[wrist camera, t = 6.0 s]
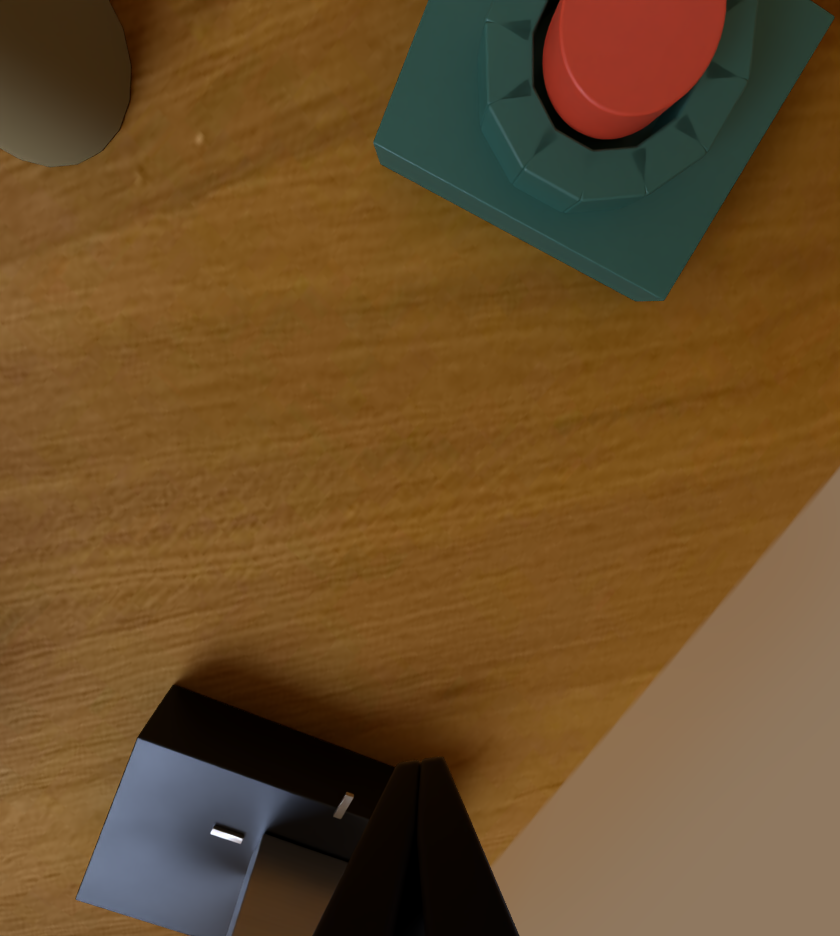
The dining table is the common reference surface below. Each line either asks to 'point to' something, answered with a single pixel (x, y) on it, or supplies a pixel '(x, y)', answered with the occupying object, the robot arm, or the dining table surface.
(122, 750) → the dining table surface
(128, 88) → the brown pawn
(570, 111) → the button
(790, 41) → the button block
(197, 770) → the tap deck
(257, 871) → the grey rectangular block
